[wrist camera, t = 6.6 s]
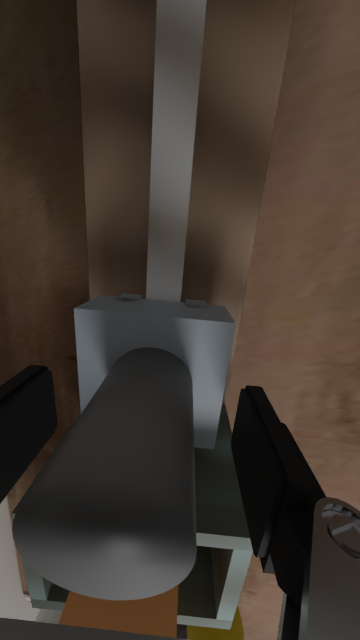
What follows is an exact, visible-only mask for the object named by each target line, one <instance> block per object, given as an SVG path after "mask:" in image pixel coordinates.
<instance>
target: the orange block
mask: <svg viewBox="0 0 360 640" xmlns="http://www.w3.org/2000/svg"><path fill="white" fill-rule="evenodd" d="M177 608H178V585H177V586H175V587H174V588H172V589H170V590H168V591H166V592H164V593H161V594H159V595H156V596H152V597H148V598H143V599H137V600H106V599H99V598H93V597H89V596H84V595H81V594H78V593H74V592H72V591H70V592H69V595H68V598H67V600H66V603H65V606H64V609H63V612H62V615H61V617H60V620H59V623H58V624H61V625H70V626H79V627H88V628H97V629H106V630H114V631H123V632H131V633H139V634H148V635H156V636H165V637H173V638H177Z"/></svg>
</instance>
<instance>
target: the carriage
mask: <svg viewBox="0 0 360 640" xmlns="http://www.w3.org/2000/svg"><path fill="white" fill-rule="evenodd" d="M74 319H75V334H76V349H77V364H78V380H79V395H80V410H81V415H80V417H79V418H78V420H77V421H76V423H75V424H74V426H73V427H72V429H71V430H70V432H69V433H68V435H67V436H66V438H65V439H64V441H63V442H62V444H61V445H60V447H59V448H58V450H57V451H56V453H55V454H54V456H53V457H52V459H51V460H50V462H49V463H48V465H47V466H46V468H45V469H44V471H43V472H42V474H41V475H40V477H39V478H38V480H37V481H36V483H35V484H34V486H33V487H32V489H31V490H30V492H29V493H28V495H27V496H26V498H25V499H24V501H23V502H22V504H21V505H20V507H19V508H18V510H17V512H16V514H15V517H14V520H13V528H12V531H13V538H14V541H15V545H16V547H17V549H18V551H19V553H20V554H21V556H22V557H23V558H24V560H25V561H26V562H27V563H28V564H29V565H30V566H31V567H32V568H33V569H34V570H35V571H36V572H37V573H39V574H40V575H41V576H43V577H44V578H46V579H47V580H49V581H51V582H52V583H54V584H56V585H58V586H60V587H62V588H64V589H67V590H69V591H72V592H74V593H78V594H81V595H84V596H89V597H93V598H99V599H106V600H137V599H143V598H148V597H152V596H156V595H159V594H161V593H164V592H166V591H168V590H170V589H172V588H174V587H175V586H177V585H178V584H180V583H181V582H182V581H183V580H184V579H185V578H186V577H187V576H188V574H189V573H190V572H191V570H192V568H193V566H194V564H195V560H196V553H197V541H196V500H195V460H194V447H197V448H207V449H214V448H215V442H216V436H217V430H218V424H219V418H220V412H221V406H222V401H223V395H224V389H225V383H226V377H227V371H228V365H229V359H230V353H231V347H232V341H233V335H234V329H235V324H236V323H235V321H234V320H233V318H232V317H231V315H230V314H229V312H228V310H227V309H226V307H225V306H217V305H207V303H206V301H203V300H192V299H186V302H185V303H184V302H173V301H162V300H150V299H143V295H136V294H125V293H123V294H122V295H120V296H118V297H117V296H106V295H100V296H98V297H96V298H94V299H91V300H89V301H87V302H85V303H83V304H81V305H79V306H77V307H75V308H74Z"/></svg>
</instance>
